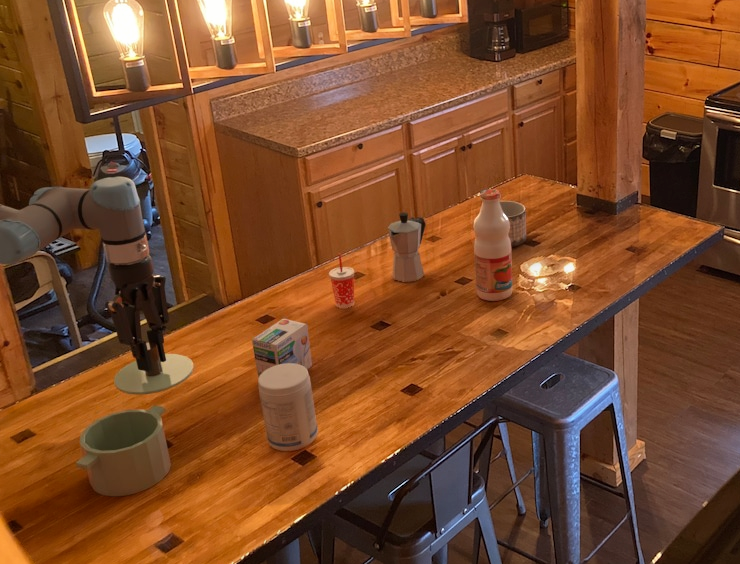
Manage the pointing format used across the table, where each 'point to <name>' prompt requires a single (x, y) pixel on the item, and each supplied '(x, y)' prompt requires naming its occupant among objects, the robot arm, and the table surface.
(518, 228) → the planter
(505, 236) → the fruit juice
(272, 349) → the light bulb box
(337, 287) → the beverage cup
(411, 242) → the coffee maker
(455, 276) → the table surface
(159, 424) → the pale green cooking pot
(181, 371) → the green pot lid
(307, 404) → the supplement tub
